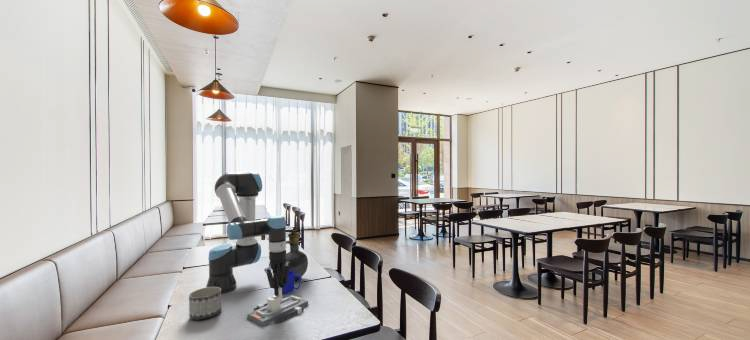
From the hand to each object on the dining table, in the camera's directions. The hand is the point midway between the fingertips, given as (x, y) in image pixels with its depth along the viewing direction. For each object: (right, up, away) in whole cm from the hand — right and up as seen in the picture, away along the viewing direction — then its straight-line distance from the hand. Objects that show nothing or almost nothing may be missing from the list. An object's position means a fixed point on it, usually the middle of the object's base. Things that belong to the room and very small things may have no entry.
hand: (279, 301), depth 138 cm
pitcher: (-4, -5, +38) cm, 38 cm away
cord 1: (-7, -5, +5) cm, 10 cm away
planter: (-33, -6, -2) cm, 33 cm away
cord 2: (+7, -4, -5) cm, 10 cm away
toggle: (-2, -2, -2) cm, 4 cm away
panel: (0, -4, 0) cm, 4 cm away
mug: (-1, -5, +22) cm, 22 cm away
